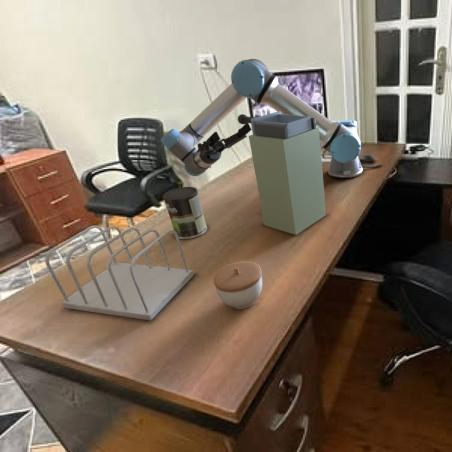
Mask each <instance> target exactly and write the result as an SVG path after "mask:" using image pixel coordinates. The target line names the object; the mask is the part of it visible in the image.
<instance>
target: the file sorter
mask: <svg viewBox="0 0 452 452" xmlns="http://www.w3.org/2000/svg"><path fill="white" fill-rule="evenodd" d="M93 229H98V230H99V231H100V232H98V233H96V234H95V235H93V236H91V237H90V238H88V239H87V240H84V241H83V242H82V243H80V244H78V245H76V246H75V247H73V248H72V249H70V250H69V252H68V253H67V254H66V257H65V263H66V266H67V268H68V270H69V273H70V275H71V277H72V279H73V282H74V283H75V285H76V287H77V290H76V291H75V292H74V293H72V294H71V295H69V296H68V295H67V293H66V292H65V289H64V288H63V286H62V284H61V281H60V280H59V278H58V277H57V275H56V273H55V271H54V269H53V267H52V265H51V263H50V257H51V256H52V254H53V253H54V252H56V251H57V250H60V249H61V248H62V247H64V246H66V245H67V244H69V243H71V242H72V241H74V240H75V239H77V238H79V237H80V236H83V235H84V234H86V233H88V232H90V230H93ZM110 230H116V231H117V232H118V234H117V235H116V236H114V237H112V238H111V239H109V240H108V238H107V236H106V233H107V232H108V231H110ZM131 231H135V232H136V233H137V236H136V237H135V238H134V239H132V240H130V241H129V242H127V243H126V240H125V238H124V236H125V235H126V234H127V233H130V232H131ZM151 232H153V233H154V234H155V235H156V239H154V240H153V241H152V242H151V243H149V244H148V245H147V246H146V245H145V241H144V238H143V237H145V236H146V235H148V234H150V233H151ZM170 233H172V234H173V235H174V237H175V239H176V240H175V241H176V243H177V246H178V250H179V253H180V257H181V259H182V263H183V266H184V268H177V267H170V263H169V261H168V258H167V255H166V251H165V249H164V245H163V242H162V239H164V238H165V237H166V236H167V235H169V234H170ZM100 236H102V238H103V241H104V243H102V244H101V245H100V246H98V247H97V248H95V249H94V250H92V251H90V252H89V254H88V256H87V258H86V267H87V270H88V272H89V275H90V276H91V277H90V278H91V280H90V281H88V282H87V283H85V284H84V285H83V286H81V284H80V282H79V280H78V277H77V276H76V273H75V271H74V269H73V266H72V264H71V257H72V255H73V254H74V253H75V252H76V251H78V250H79V249H81V248H83V247H85V246H86V245H88V244H89V243H91V242H92V241H94V240H96V239H98V238H99V237H100ZM118 239H121V242H122V245H123V246H121V247H120V248H119V249H117V250H116V251H113V250H112V248H111V245H110V244H111V243H114V242H115V241H116V240H118ZM138 241H140V245H141V248H142V249H141V251H139V252H138V253H137V254H135V255H134V256H133V257H132V255H131V253H130V251H129V247H130V246H133V244H135V243H136V242H138ZM157 243H158V245H159V247H160V250H161V253H162V254H161V255H162V256H163V261H164V263H165V266H158V265H152V263H151V260H150V257H149V254H148V250H150V249H151V248H152V247H153V246H155V245H156V244H157ZM105 247H107V250H108V252H109V255H110V256H109V257H108V258H107V259H108V260H107V263H106V267H107V268H106V269H105V270H103V271H102V272H100V273H99V274H97V275H95V273H94V270H93V268H92V265H91V260H92V257H93V256H94V255H95V254H96V253H98V252H99V251H101V250H102V249H104V248H105ZM124 250H125V253H126V255H127V257H128V260H129V262H119V261H117V260H116V256H117V255H119V254H120V253H122V252H123V251H124ZM142 255H144V256H145V260H146V262H147V264H139V263H135V262H136V260H138V258H139V257H141V256H142ZM44 261H45V265H46V268H47V269H48V271H49V273H50V275H51V276H52V278H53V280H54V282H55V284H56V286H57V287H58V289H59V291H60V293H61V295H62V297H63V299H64V300H63V301H62V303H61V304H62V306H63V308H64V309H69V310H76V311H83V312H90V313H96V314H103V315H109V316H110V315H111V316H116V317H123V318H131V319H137V320H145V321H152V320H153V319H154V318H155V317H156V316H157V315H158V314H159V312H161V311H162V309H164V308H165V307H166V305H167V304H168V303H169V302H170V301H171V300H172V299H173V298H174V297H175V296H176V295H177V294H178V293H179V291H180V290H182V289H183V288H184V287H185V285H187V283H188V282H189V281H190V280H191V279H192V278H193V277H194V275H195V274H194V271H193V270H192V269H189V266H188V264H187V261H186V257H185V254H184V250H183V247H182V244H181V241H180V239H179V237H178V235H177V233H176V232H175V231H174V229H169V230H166V231H165V232H164V233H162V234H161V235H160V234H159V232H158V230H156V229H154V228H153V229H152V228H150V229H146V231H144V232H143V233H141V231H140V230H139V229H138V228H137V227H128V228H127V229H125V230H124V231H123V232H122V230H121V229H120V227H118V226H116V225H110V226H108V227H107V228H104V229H103V228H102V227H101V226H99V225H90V226H88V227H87V228H86V229H84V230H82V231H80V232H79V233H77V234H74V235H73V236H72V237H69V238H68V239H65V241H63V242H61V243H60V244H58V245H56V246H54V247H53V248H51V249H50V250H49V251H47V253H46V255H45V259H44ZM112 261H113V264H112Z"/></svg>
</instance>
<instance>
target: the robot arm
mask: <svg viewBox="0 0 452 452" xmlns="http://www.w3.org/2000/svg"><path fill="white" fill-rule="evenodd" d="M230 81H231V83H230V84H229V85H228V86H227V87H226V88H225V89H224V90H223V91H222V92H221V93H220V94H219V95H217V97H216V98H214V99H213V100H212V101H211V102H210V103H209V104H208V105H207V106H206V107H205V108H204V109H203V110H202V111H201V112H200V113H199V114H198V115H197V116H196V117H195V118H193V120H192V121H190V123H188V124H187V125H186V126H185V127H184V128H183V129H182V130H180V131H179V130H177V129H176V128H171V129H169V130H168V131H167V132H166V133H165V134H164V135H163V136H162V138H161V139H160V142H161V144H162V145H163V146H165V148H166V149H167V150H168V151H169V152H171V153H172V154H173V155H174V156H175V157H176V158H177V159H179V161H180V162H182V163H183V164H184V165H183V166H184V170H185V173H186V174H187V175H189V176H191V177H199V176H201V175H202V174H204V173H205V172H206V171H207V170H208V169H212V166H213V165H214V164H215V163H217V162H218V161H219V160H220V159H221V158H222V152H224V150H226V149H230V148H232V147H233V146H234V145H236V144H238V143H239V142H242V140H244V139H246V138H248V135H247V134H249V133H250V132H251V131H253V130H252V126H250V123H246V124H243V126H242V127H240V128H238V130H237V132H235V133H233V134H232V135H230V136H228V137H226V138H221V137H220V135H219V133H218V132H217V131H214V132H213V133H212V134H211V135H210V136H209V137H208V138H207V139H206V140H204V141H202V143H201V140H202V139H204V138H205V136H207V135H208V134H209V133H210V132H211V131H212V130H213V129H214V128H216V127H217V126H218V125H219V124H220V123H221V122H222V121H223V120H224V119H225V118H226V117H227V116H229V115H230V114H231V113H232V112H233V111H234V110H235V109H236V108H237V107H239V105H240V104H241V103H243V102H244V101H245V100H246V99H251V100H252V101H254V102H256V103H257V104H259V105H261V106H262V105H267V106H268V107H270V108H271V109H274V111H275V112H278V111H281V114H285V115H298V116H311V117H312V118H315V119H316V127H317V128H319V136H320V148H321V149H322V148H323V150H325V151H327V152H328V153H329V154H331V155H330V156H331V158H330V161H329V165H328V170H327V172H328V175H329V176H330V177H331V178H334V179H343V180H345V179H353V178H357V177H359V176H362V174H363V168H369V169H373V168H374V169H375V168H379V167H382V166H383V165H382V164H381V163H380V164H376V165H362V163H361V160H360V157H359V155H360V154H361V149H362V148H361V147H362V143H361V140H360V137H359V135H358V124H357V121H356V120H353V119H352V120H351V119H347V120H346V119H345V120H333V121H332V120H330V119H329V118H328V117H326V116H325V115H323V114H322V113H321V112H319V111H318V110H316V109H315V108H313V107H312V106H311V105H309V104H308V103H307V102H305V101H304V100H302V99H301V98H300V97H298V96H297V95H295V94H294V93H292V92H291V91H290V90H289V89H287V88H285V86H283V85H282V84H280V83H279V80H278V76H276V75H275V74H273V73H272V72H271V71H269V68H268V67H267V65H266V64H265V63H264V62H263V61H261V60H260V59H257V58H249V59H243V60H240V61H239V62H238V63H236V64H235V65H234V66H233V68H232V70H231V75H230ZM196 145H197V148H196V147H195V146H196Z"/></svg>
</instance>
